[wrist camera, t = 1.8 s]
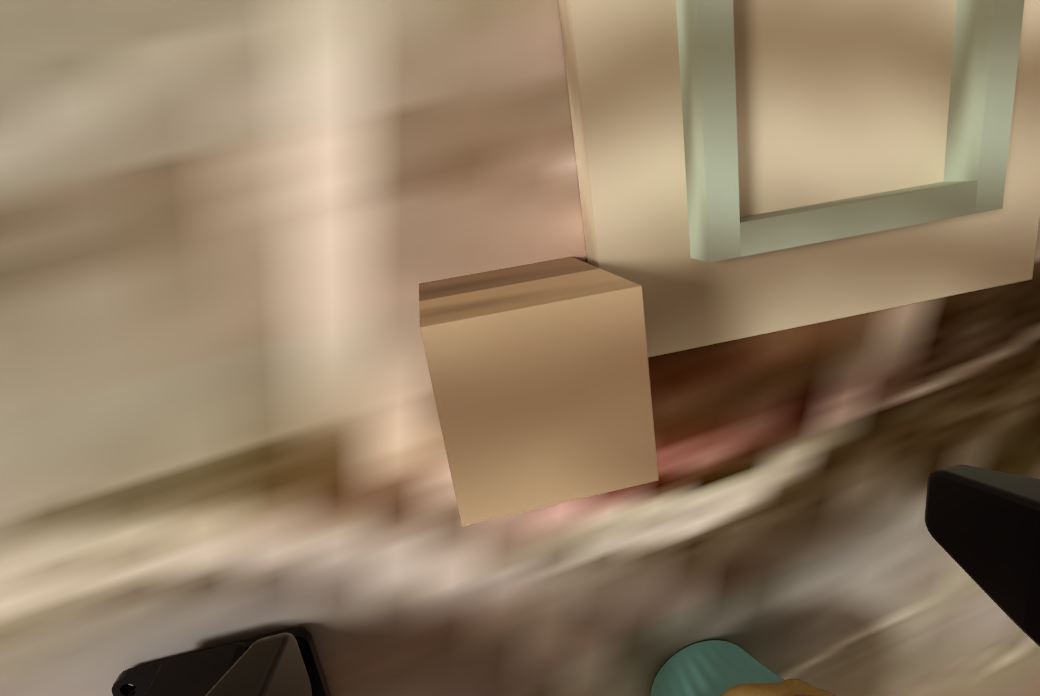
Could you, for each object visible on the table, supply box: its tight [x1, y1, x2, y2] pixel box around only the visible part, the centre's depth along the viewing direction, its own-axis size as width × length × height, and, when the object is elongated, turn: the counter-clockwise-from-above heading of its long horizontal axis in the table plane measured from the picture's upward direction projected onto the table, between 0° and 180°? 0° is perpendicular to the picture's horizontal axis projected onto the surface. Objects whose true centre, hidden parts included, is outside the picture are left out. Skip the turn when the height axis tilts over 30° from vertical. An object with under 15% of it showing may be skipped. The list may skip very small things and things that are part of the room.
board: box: [558, 0, 1040, 357], centre depth 17 cm, size 16×16×2 cm
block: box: [419, 257, 658, 527], centre depth 16 cm, size 5×5×6 cm
